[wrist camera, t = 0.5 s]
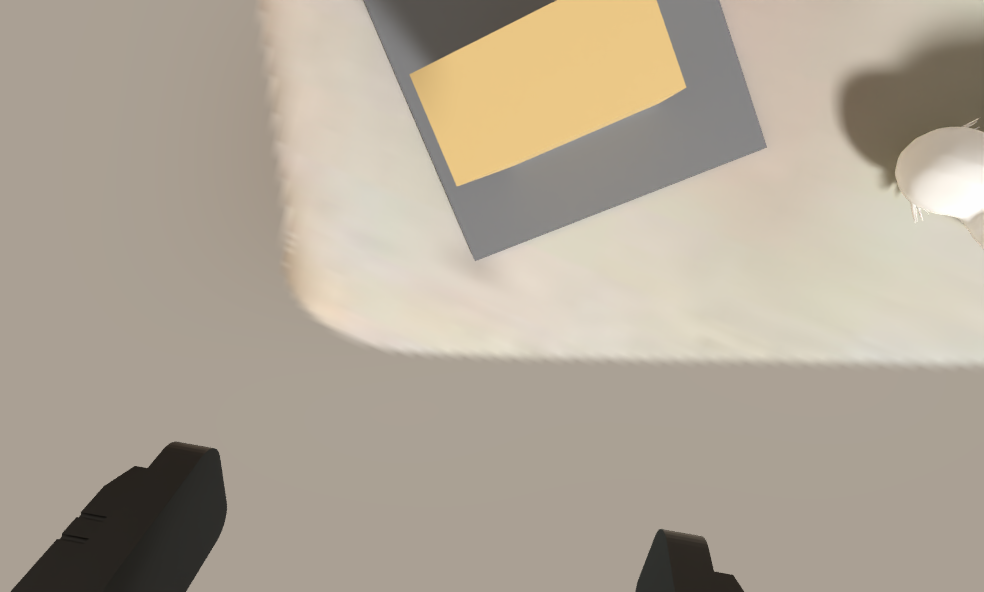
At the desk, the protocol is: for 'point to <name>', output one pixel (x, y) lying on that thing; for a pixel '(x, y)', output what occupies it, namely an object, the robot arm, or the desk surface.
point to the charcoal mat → (598, 155)
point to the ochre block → (546, 82)
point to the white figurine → (946, 175)
